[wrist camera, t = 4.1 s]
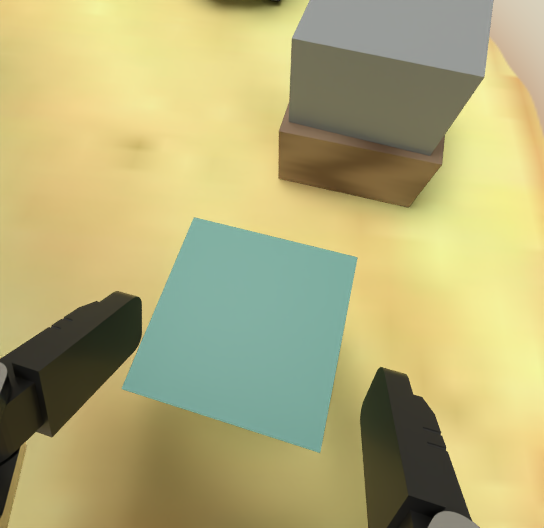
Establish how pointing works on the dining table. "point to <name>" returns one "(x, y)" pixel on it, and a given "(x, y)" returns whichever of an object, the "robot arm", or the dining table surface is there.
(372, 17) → the gray top block
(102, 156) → the dining table surface
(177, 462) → the dining table surface
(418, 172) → the walnut base block
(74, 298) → the dining table surface
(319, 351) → the green block
